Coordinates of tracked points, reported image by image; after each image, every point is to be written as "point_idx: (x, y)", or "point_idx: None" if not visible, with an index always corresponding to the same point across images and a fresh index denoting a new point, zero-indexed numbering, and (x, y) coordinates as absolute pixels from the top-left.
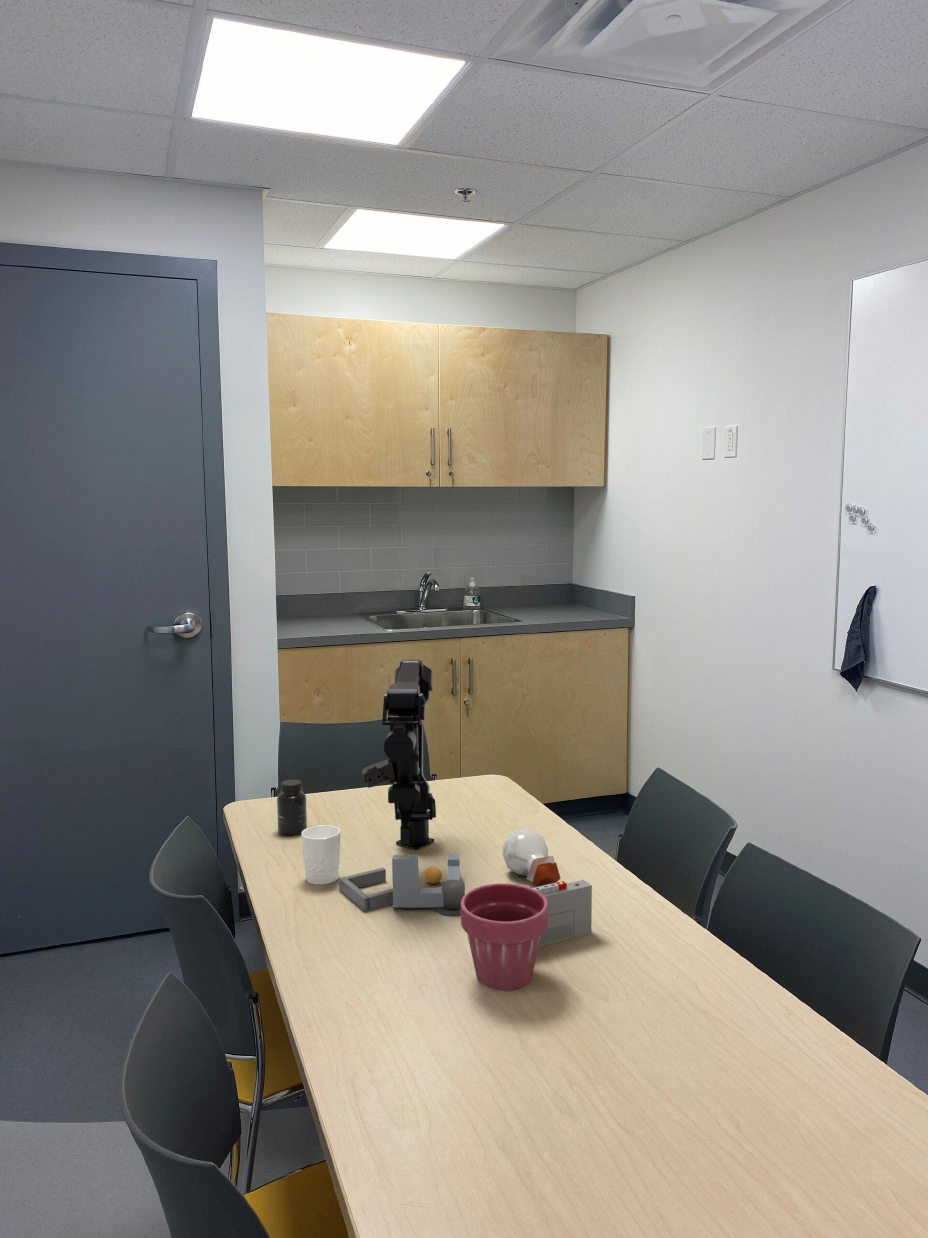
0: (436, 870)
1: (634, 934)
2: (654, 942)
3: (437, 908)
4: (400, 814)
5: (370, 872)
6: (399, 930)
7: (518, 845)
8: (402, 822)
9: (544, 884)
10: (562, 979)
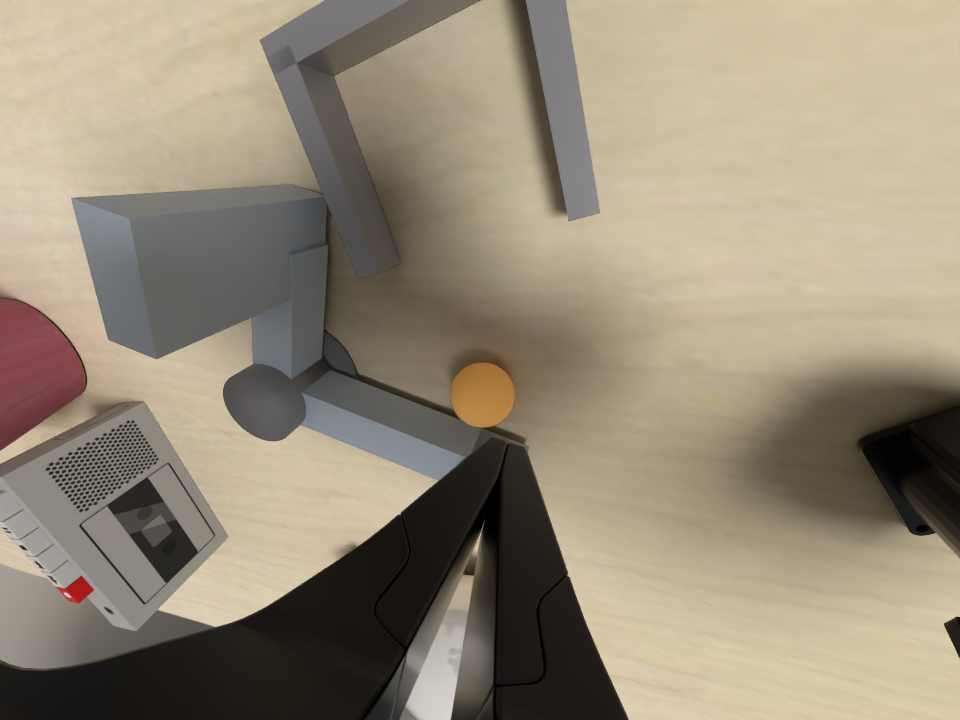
0: (456, 412)
1: (210, 574)
2: (189, 577)
3: None
4: (435, 486)
5: (557, 126)
6: (178, 175)
7: None
8: (482, 444)
9: None
10: (61, 427)
